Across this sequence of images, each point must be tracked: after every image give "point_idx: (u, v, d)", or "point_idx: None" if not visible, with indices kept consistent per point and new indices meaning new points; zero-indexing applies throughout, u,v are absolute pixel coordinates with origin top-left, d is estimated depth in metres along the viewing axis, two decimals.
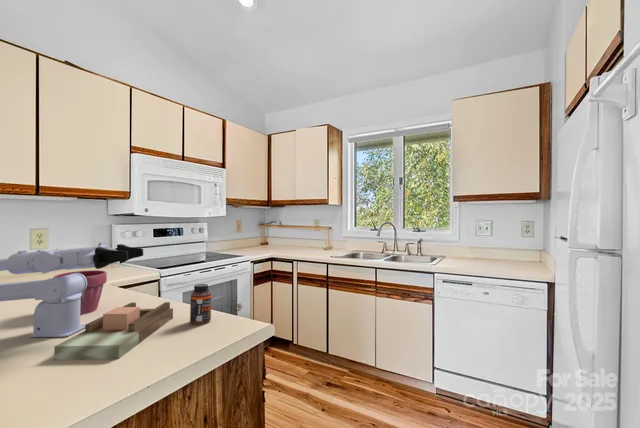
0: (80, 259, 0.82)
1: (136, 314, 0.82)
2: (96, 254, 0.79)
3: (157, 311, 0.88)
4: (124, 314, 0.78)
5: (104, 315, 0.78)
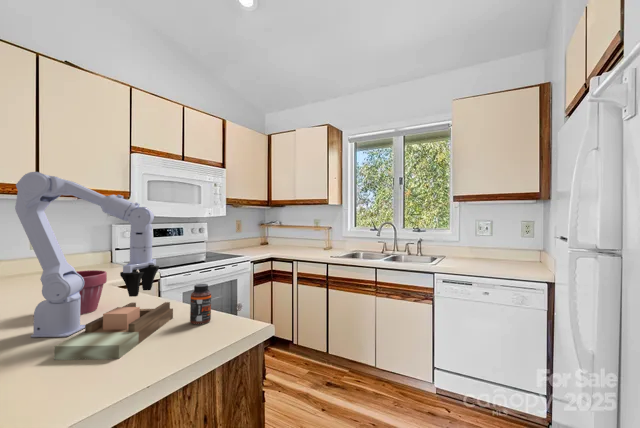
0: (135, 250, 0.87)
1: (136, 314, 0.82)
2: (133, 274, 0.84)
3: (157, 311, 0.88)
4: (124, 314, 0.78)
5: (104, 315, 0.78)
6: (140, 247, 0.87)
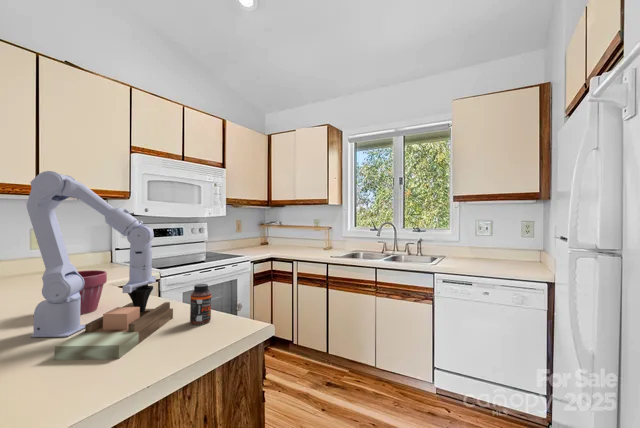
0: (135, 269, 0.87)
1: (136, 314, 0.82)
2: (139, 291, 0.87)
3: (157, 311, 0.88)
4: (124, 314, 0.78)
5: (104, 315, 0.78)
6: (140, 266, 0.87)
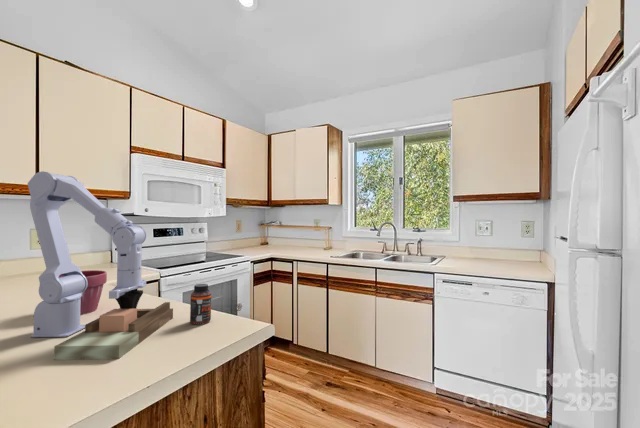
0: (122, 273, 0.81)
1: (133, 316, 0.81)
2: (127, 296, 0.81)
3: (157, 311, 0.88)
4: (121, 316, 0.76)
5: (100, 317, 0.76)
6: (128, 269, 0.81)
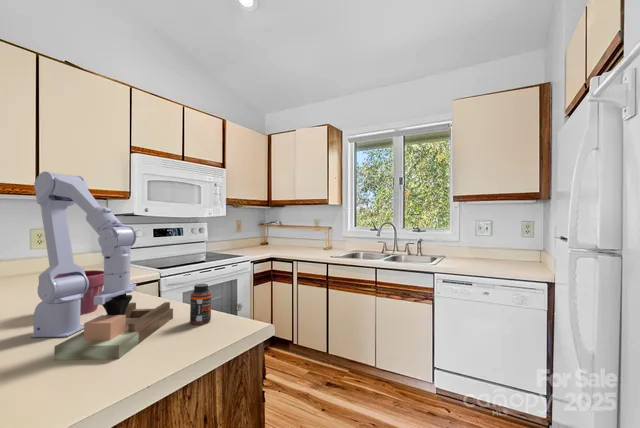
0: (109, 277, 0.76)
1: (121, 323, 0.75)
2: (114, 302, 0.76)
3: (157, 311, 0.88)
4: (107, 323, 0.71)
5: (85, 325, 0.71)
6: (115, 273, 0.76)
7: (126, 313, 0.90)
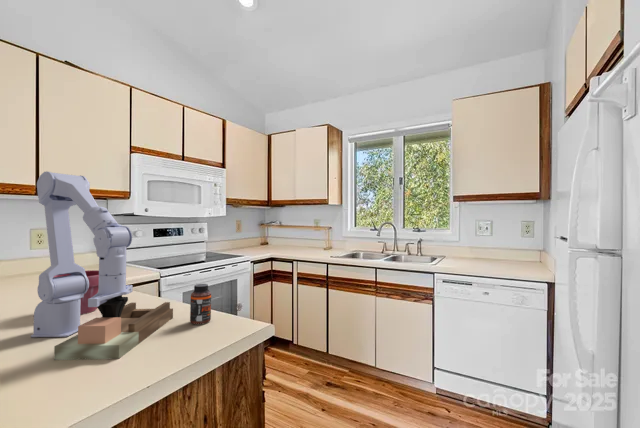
0: (104, 278, 0.74)
1: (117, 325, 0.73)
2: (110, 304, 0.74)
3: (157, 311, 0.88)
4: (102, 326, 0.69)
5: (79, 327, 0.69)
6: (110, 275, 0.74)
7: (126, 313, 0.90)
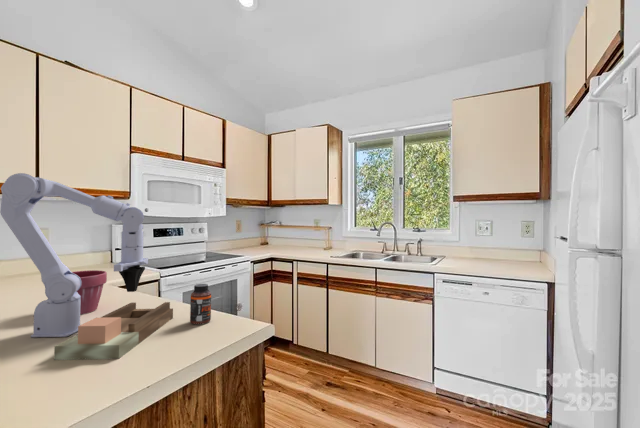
0: (126, 249, 0.89)
1: (117, 325, 0.73)
2: (130, 271, 0.89)
3: (157, 311, 0.88)
4: (102, 326, 0.69)
5: (79, 327, 0.69)
6: (131, 246, 0.89)
7: (126, 313, 0.90)
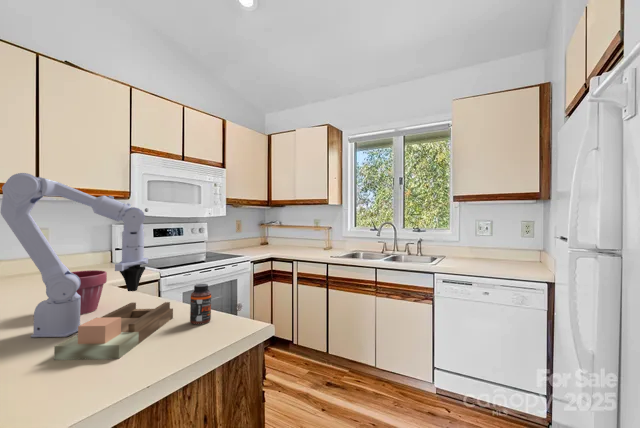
0: (127, 249, 0.90)
1: (117, 325, 0.73)
2: (131, 270, 0.90)
3: (157, 311, 0.88)
4: (102, 326, 0.69)
5: (79, 327, 0.69)
6: (132, 246, 0.90)
7: (126, 313, 0.90)
